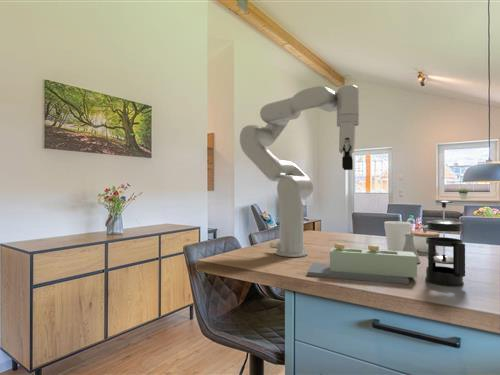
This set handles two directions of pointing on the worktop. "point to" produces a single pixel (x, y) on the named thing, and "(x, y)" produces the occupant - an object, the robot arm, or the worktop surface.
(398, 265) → the pale green slotted holder
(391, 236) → the foam cup
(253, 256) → the worktop surface
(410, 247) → the flask
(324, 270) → the board
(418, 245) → the lidded jar
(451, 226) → the french press
